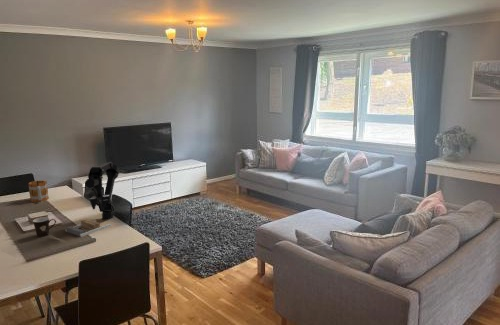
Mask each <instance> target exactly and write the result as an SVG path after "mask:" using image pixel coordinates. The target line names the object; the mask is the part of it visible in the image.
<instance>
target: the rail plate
mask: <svg viewBox="0 0 500 325" xmlns="http://www.w3.org/2000/svg"><path fill="white" fill-rule="evenodd" d="M91 221H94V222H97V219H93V220H91ZM110 227H112V224H111V223H109V224H108V223H107V224H105V225H103V226H100V227H99V228H96V229H94V230H88V231H85V230H83V229H81V228H83V227H82V226H81V224H78V225H75V226H74V225H73V226H71V225H70V226H67V227H65V232H66V233H69V234H71V235H74V236H77V237H81V238H82V237H85V236H88V235H90V234H93V233H96V232H98V231H102V230H104V229H107V228H110Z"/></svg>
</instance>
